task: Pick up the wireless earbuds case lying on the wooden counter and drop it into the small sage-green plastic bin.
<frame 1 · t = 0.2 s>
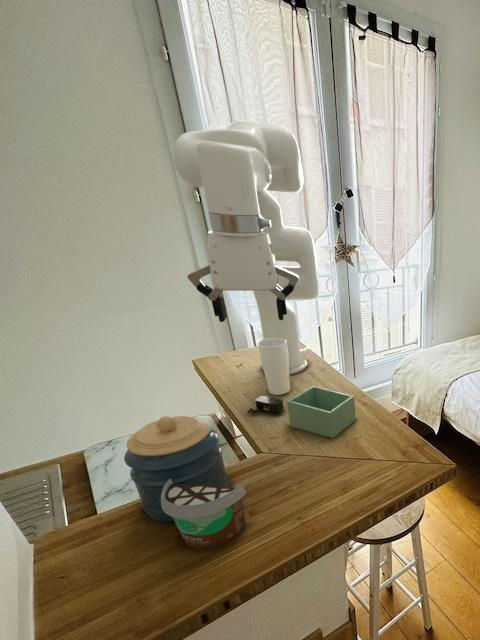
hand: (253, 318, 76), 31 cm above the countertop, tool pointing down, fingers open, 9 cm apart
wireless earbuds: (266, 412, 102), on the countertop
drinking glass: (280, 391, 112), on the countertop
food container: (206, 540, 66), on the countertop
canister: (189, 497, 74), on the countertop
bin: (324, 422, 100), on the countertop
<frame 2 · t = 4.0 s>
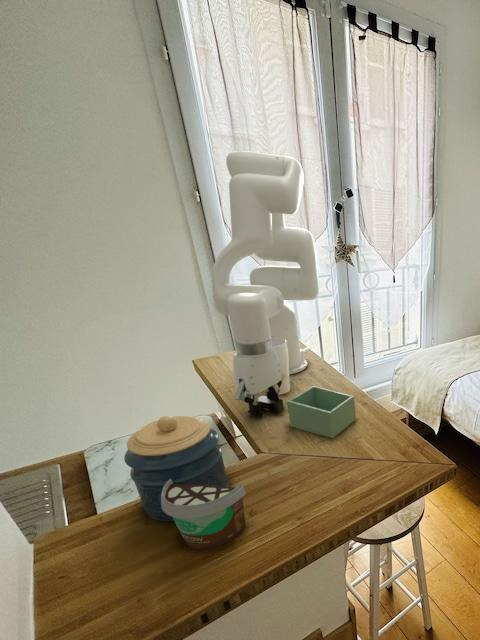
hand: (265, 410, 102), 0 cm above the countertop, tool pointing down, fingers closed on wireless earbuds, 4 cm apart
wireless earbuds: (266, 412, 102), on the countertop, touching gripper
everything else where it was.
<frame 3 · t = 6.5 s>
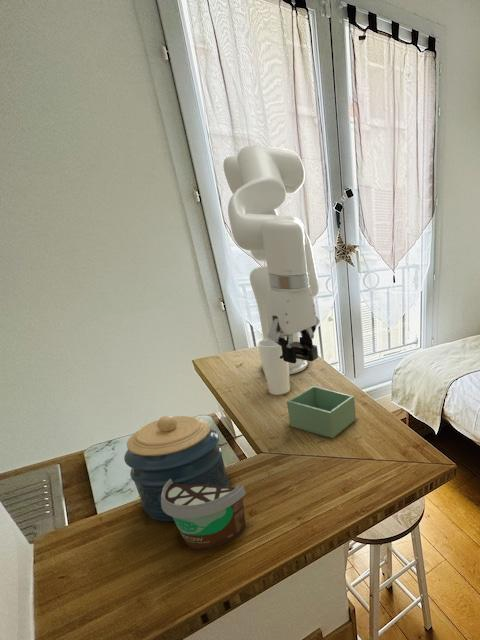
hand: (298, 357, 93), 18 cm above the countertop, tool pointing down, fingers closed on wireless earbuds, 4 cm apart
wireless earbuds: (299, 359, 93), point 17 cm above the countertop, touching gripper
everything else where it was.
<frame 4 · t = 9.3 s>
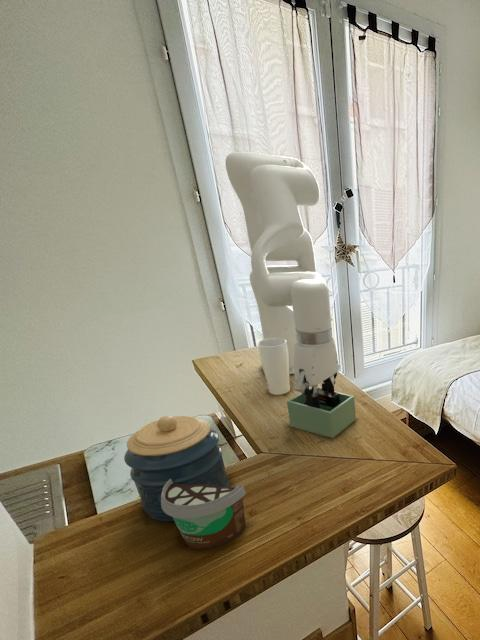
hand: (321, 403, 98), 6 cm above the countertop, tool pointing down, fingers closed on wireless earbuds, 4 cm apart
wireless earbuds: (322, 405, 98), point 5 cm above the countertop, touching gripper
everything else where it was.
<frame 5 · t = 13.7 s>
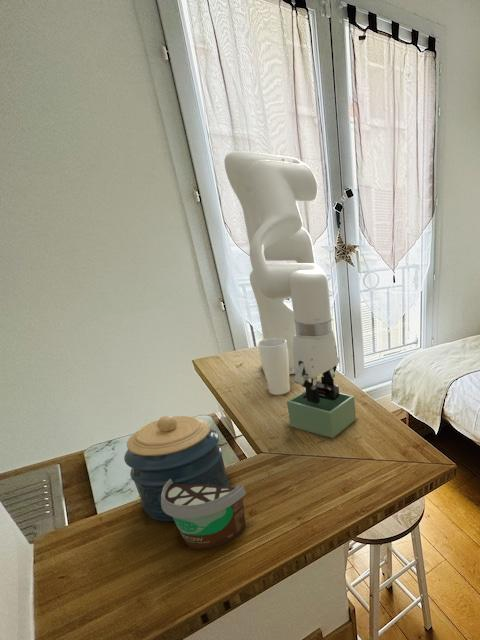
hand: (321, 396, 97), 8 cm above the countertop, tool pointing down, fingers closed on wireless earbuds, 4 cm apart
wireless earbuds: (321, 398, 97), point 7 cm above the countertop, touching gripper
everything else where it was.
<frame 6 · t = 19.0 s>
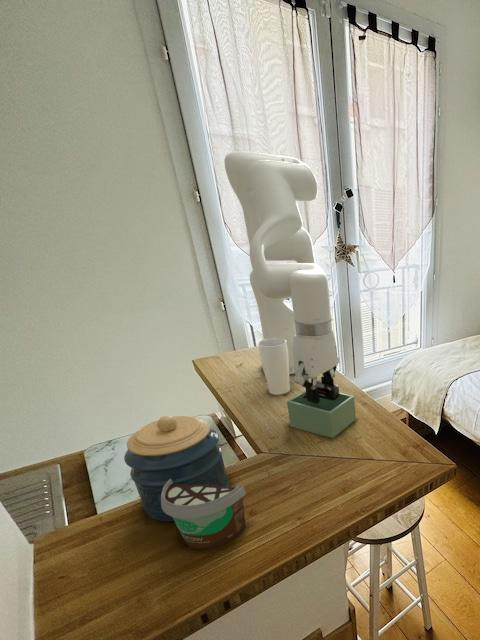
hand: (321, 396, 97), 8 cm above the countertop, tool pointing down, fingers closed on wireless earbuds, 4 cm apart
wireless earbuds: (321, 398, 97), point 7 cm above the countertop, touching gripper
everything else where it was.
when the fingers open (9 cm above the countertop, at t = 23.6 s): wireless earbuds drops 6 cm, resting on bin.
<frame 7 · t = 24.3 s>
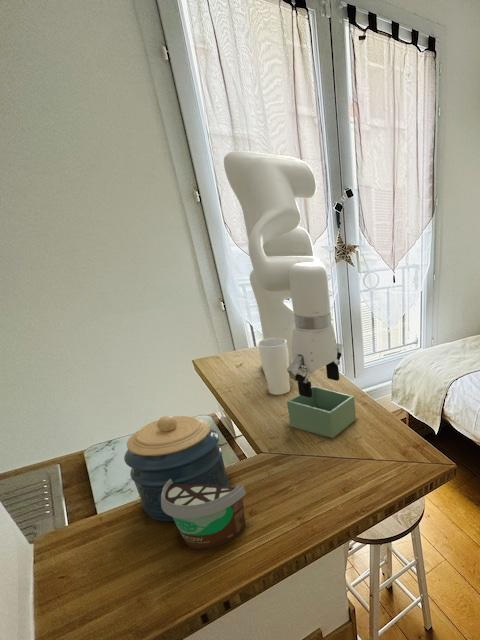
hand: (320, 387, 96), 10 cm above the countertop, tool pointing down, fingers open, 9 cm apart
wireless earbuds: (321, 417, 99), point 2 cm above the countertop, touching bin
everything else where it was.
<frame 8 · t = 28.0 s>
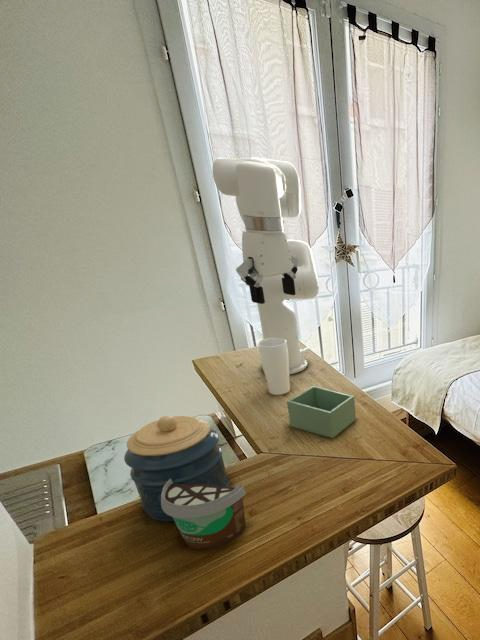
hand: (274, 298, 97), 28 cm above the countertop, tool pointing down, fingers open, 9 cm apart
nothing on the countertop moved.
at the end: wireless earbuds inside the target area in the bin (0.7 cm from its centre), point 2.0 cm above the bin's base; the gripper is holding nothing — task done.
